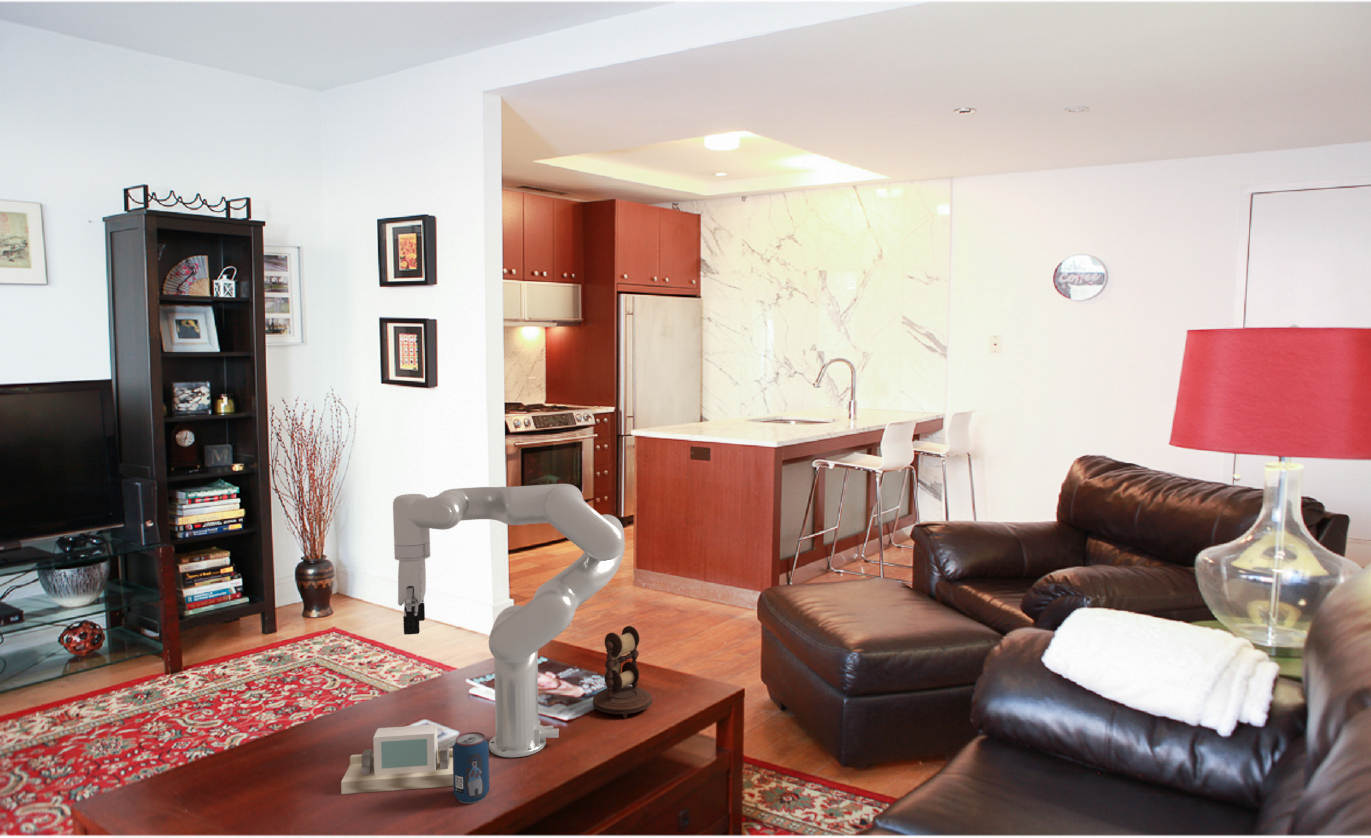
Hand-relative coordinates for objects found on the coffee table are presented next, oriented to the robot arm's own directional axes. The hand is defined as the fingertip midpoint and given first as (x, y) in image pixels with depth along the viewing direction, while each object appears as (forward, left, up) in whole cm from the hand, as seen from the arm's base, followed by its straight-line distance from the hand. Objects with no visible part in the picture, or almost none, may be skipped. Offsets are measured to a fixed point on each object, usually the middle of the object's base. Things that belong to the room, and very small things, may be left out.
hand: (414, 627), depth 194 cm
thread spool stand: (-47, -17, -28) cm, 57 cm away
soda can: (-14, +23, -28) cm, 39 cm away
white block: (0, +14, -26) cm, 29 cm away
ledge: (0, +14, -28) cm, 31 cm away
